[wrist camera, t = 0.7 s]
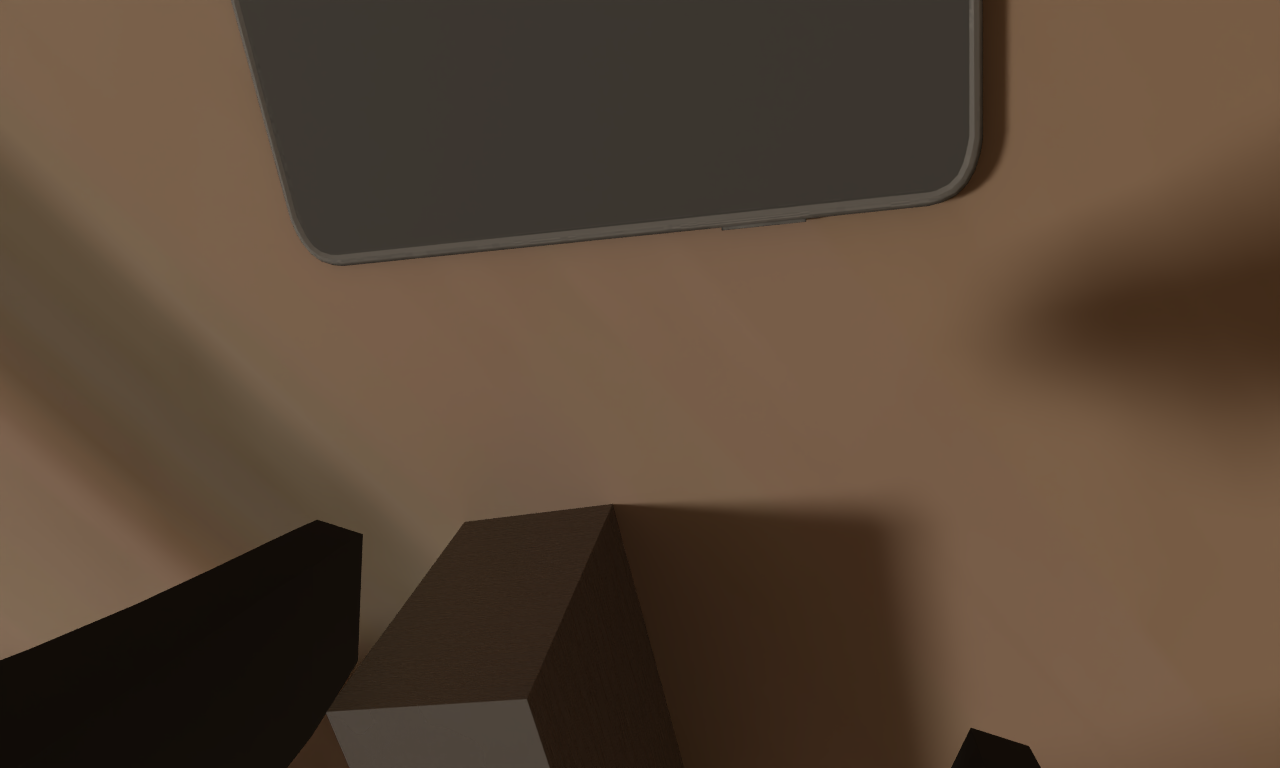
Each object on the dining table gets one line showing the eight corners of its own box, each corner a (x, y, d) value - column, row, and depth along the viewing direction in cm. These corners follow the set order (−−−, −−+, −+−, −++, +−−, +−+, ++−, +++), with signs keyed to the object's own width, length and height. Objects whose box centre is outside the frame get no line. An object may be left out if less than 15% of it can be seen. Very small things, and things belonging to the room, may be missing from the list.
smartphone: (202, -77, 18) (985, -249, 14) (231, -71, 18) (976, -233, 15) (300, 276, 20) (987, 206, 17) (322, 266, 21) (980, 198, 17)
